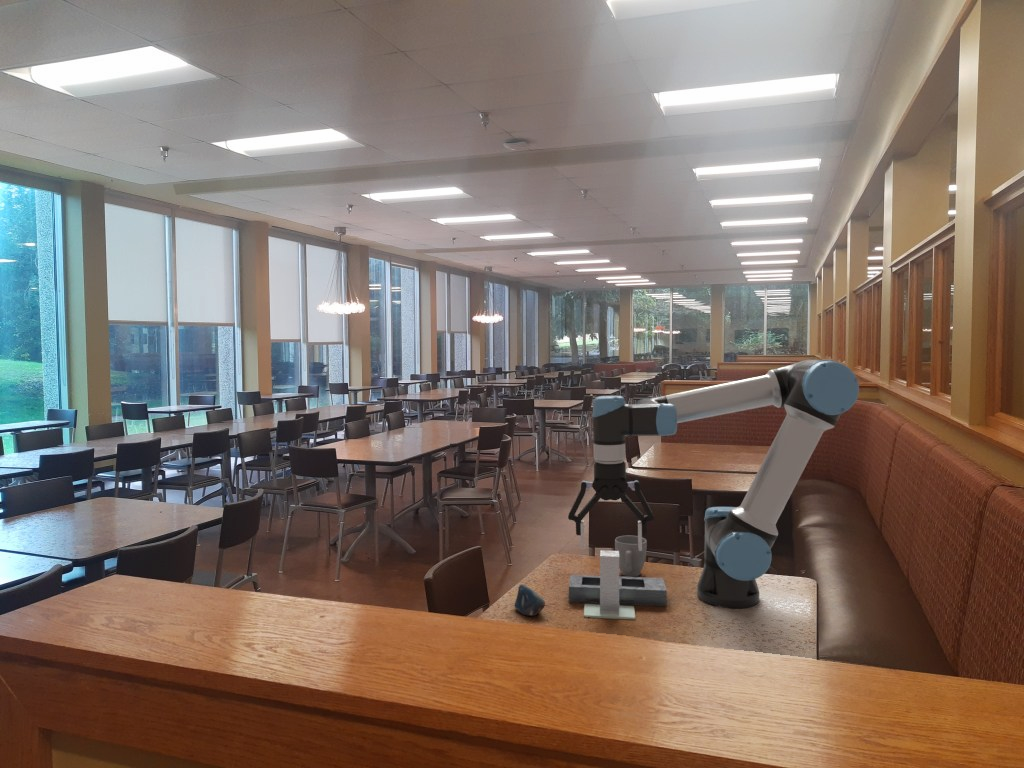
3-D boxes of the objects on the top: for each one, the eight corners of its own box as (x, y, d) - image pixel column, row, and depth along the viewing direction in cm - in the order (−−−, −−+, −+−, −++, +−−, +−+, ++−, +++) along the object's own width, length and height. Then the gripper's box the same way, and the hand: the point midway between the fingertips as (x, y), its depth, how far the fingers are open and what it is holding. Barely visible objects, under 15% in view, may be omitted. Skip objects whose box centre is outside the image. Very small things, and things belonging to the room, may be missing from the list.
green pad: (633, 608, 168) (633, 606, 168) (635, 619, 161) (635, 617, 161) (584, 606, 169) (584, 604, 169) (583, 617, 162) (583, 615, 162)
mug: (616, 567, 199) (616, 534, 198) (647, 569, 196) (647, 536, 196) (611, 581, 187) (611, 546, 186) (644, 583, 185) (644, 548, 184)
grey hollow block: (663, 593, 178) (663, 578, 177) (666, 606, 169) (666, 590, 169) (570, 589, 181) (570, 574, 181) (568, 602, 172) (568, 586, 172)
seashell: (538, 611, 159) (550, 577, 167) (503, 609, 164) (517, 575, 171) (546, 628, 162) (558, 593, 170) (513, 625, 167) (526, 592, 174)
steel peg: (618, 607, 167) (618, 550, 166) (619, 614, 163) (619, 556, 162) (600, 606, 168) (600, 550, 167) (600, 613, 163) (600, 556, 162)
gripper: (661, 457, 165) (663, 544, 166) (558, 458, 168) (560, 543, 170) (664, 463, 158) (665, 554, 159) (556, 463, 161) (558, 552, 162)
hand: (611, 548), depth 164 cm, fingers open, 13 cm apart
